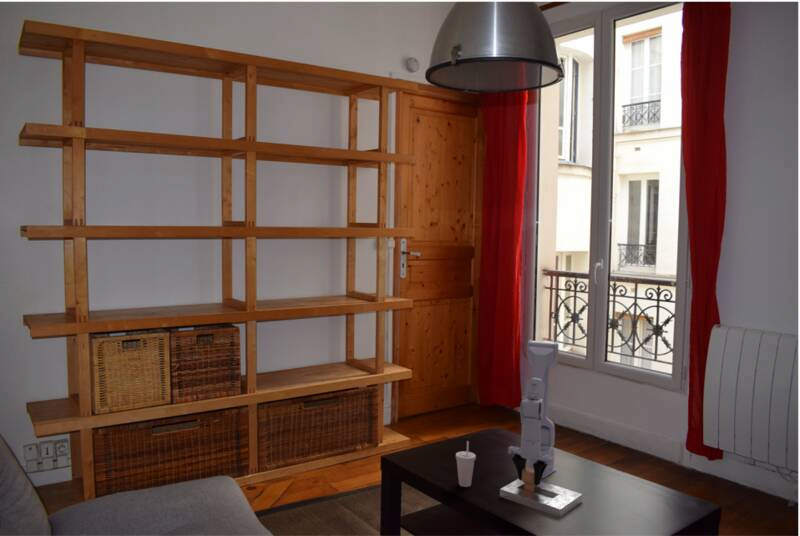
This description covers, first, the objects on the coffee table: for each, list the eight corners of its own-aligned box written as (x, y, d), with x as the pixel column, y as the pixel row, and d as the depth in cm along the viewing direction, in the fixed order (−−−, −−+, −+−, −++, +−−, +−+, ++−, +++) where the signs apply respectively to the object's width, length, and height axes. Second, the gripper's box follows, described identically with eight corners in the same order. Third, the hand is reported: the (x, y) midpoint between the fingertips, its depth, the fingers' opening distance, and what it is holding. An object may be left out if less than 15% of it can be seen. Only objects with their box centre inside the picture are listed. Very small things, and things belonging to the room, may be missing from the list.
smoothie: (474, 489, 199) (475, 445, 198) (453, 487, 200) (454, 443, 199) (475, 481, 205) (477, 438, 204) (455, 479, 206) (457, 437, 205)
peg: (525, 488, 199) (526, 466, 198) (539, 493, 196) (540, 471, 195) (517, 493, 195) (519, 471, 194) (532, 498, 192) (533, 476, 192)
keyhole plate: (523, 482, 205) (523, 475, 204) (582, 501, 192) (582, 494, 191) (499, 496, 194) (500, 488, 194) (560, 517, 181) (560, 509, 181)
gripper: (503, 435, 196) (502, 479, 197) (546, 447, 186) (544, 492, 187) (515, 430, 201) (514, 472, 202) (557, 441, 192) (555, 485, 193)
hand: (529, 481), depth 195 cm, fingers closed on peg, 5 cm apart
